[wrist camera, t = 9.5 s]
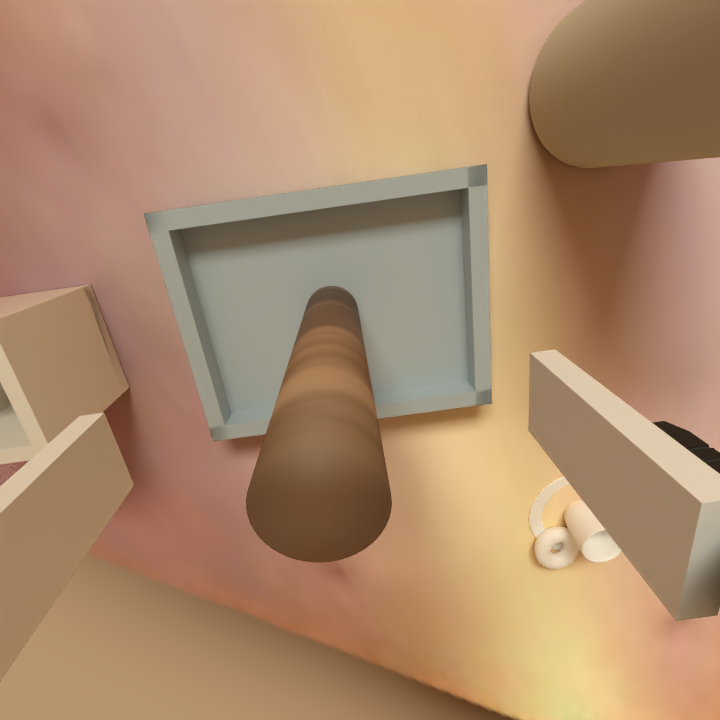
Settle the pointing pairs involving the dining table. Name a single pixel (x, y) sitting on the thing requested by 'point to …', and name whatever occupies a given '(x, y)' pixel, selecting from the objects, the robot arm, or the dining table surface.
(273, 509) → the dowel
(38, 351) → the square open box
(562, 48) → the travel mug
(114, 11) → the dining table surface
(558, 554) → the cream curved piece
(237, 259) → the tray
